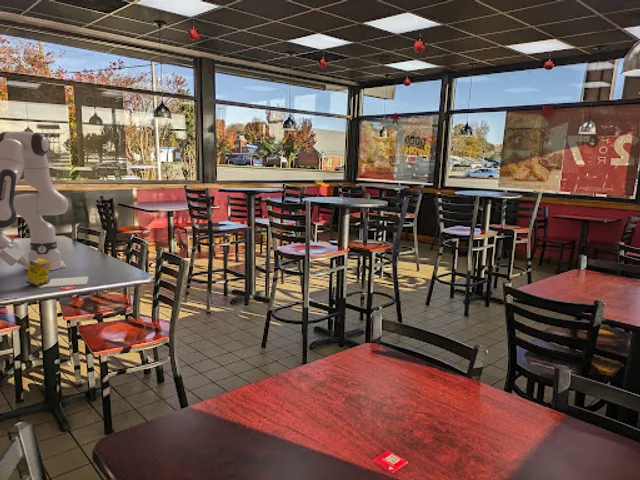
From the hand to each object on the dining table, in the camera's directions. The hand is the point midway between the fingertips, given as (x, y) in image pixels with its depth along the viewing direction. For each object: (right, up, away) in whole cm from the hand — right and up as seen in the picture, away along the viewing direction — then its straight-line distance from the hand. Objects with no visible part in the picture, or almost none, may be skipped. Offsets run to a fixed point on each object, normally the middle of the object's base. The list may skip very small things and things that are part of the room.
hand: (28, 266), depth 213 cm
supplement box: (+2, -8, +3) cm, 9 cm away
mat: (+14, -8, +8) cm, 18 cm away
